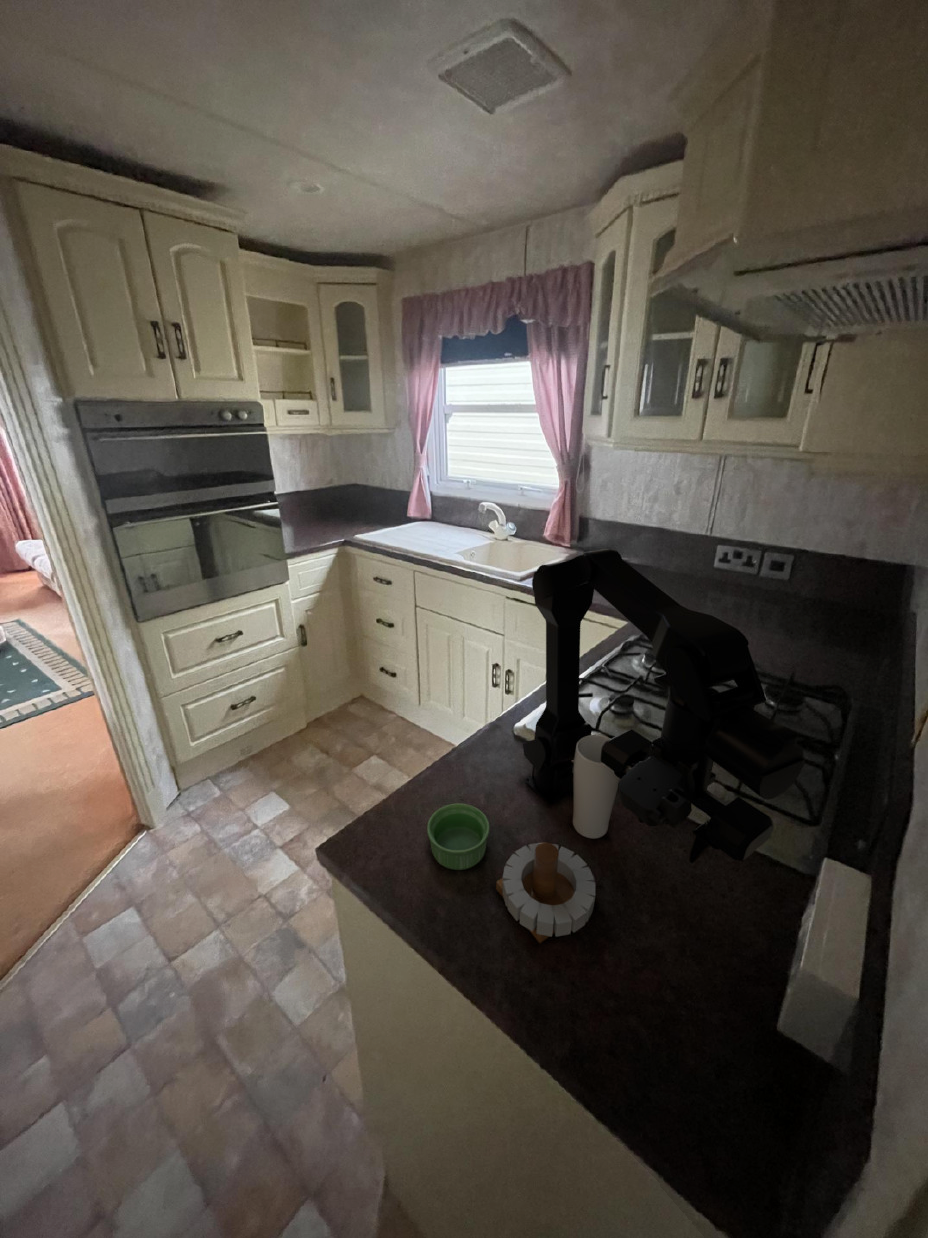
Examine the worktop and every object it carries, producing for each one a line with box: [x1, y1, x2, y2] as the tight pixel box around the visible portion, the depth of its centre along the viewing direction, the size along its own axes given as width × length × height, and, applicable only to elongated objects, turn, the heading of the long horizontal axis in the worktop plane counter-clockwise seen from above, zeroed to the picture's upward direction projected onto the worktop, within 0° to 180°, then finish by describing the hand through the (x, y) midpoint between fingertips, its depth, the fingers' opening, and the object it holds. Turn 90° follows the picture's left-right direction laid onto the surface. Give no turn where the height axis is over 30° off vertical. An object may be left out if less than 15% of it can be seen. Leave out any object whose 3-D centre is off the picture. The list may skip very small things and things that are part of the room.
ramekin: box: [426, 802, 490, 871], centre depth 75 cm, size 9×9×4 cm
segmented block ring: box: [502, 842, 596, 938], centre depth 67 cm, size 12×12×2 cm
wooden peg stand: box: [495, 841, 575, 944], centre depth 67 cm, size 9×9×8 cm
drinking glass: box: [572, 734, 620, 840], centre depth 76 cm, size 7×7×15 cm
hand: (666, 840), depth 62 cm, fingers open, 7 cm apart
